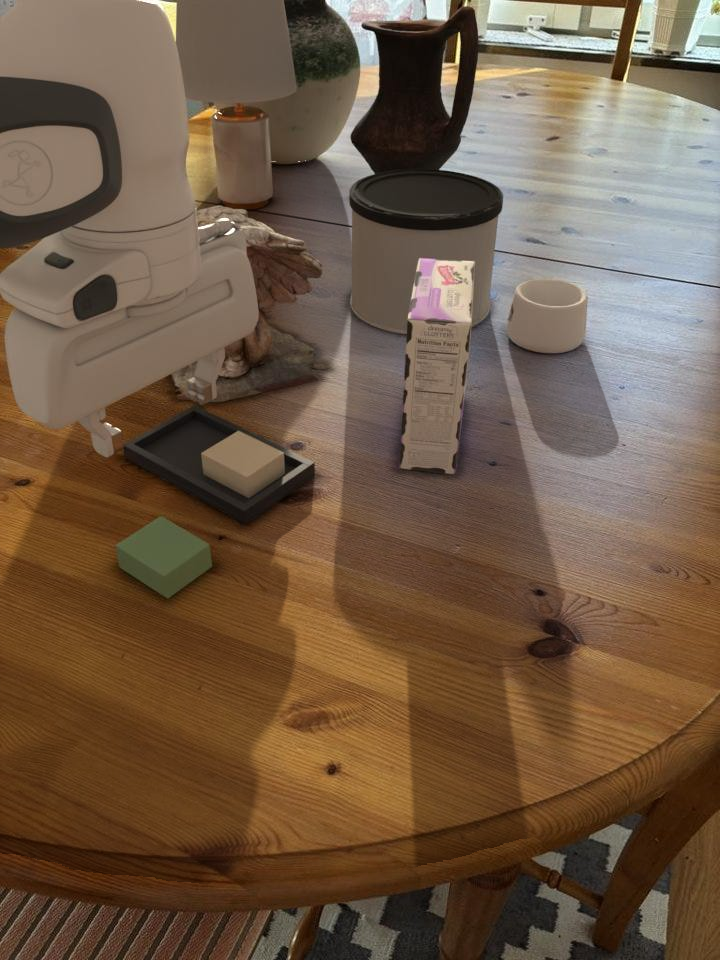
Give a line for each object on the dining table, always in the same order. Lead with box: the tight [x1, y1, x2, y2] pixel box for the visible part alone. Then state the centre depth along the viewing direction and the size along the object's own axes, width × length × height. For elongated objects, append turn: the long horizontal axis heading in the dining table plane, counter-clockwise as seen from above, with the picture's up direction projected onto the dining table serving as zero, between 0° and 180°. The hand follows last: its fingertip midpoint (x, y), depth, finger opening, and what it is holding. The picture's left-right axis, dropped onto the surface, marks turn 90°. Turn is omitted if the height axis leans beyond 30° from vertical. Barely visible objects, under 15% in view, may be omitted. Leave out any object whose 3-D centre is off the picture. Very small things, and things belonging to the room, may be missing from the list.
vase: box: [213, 0, 361, 165], centre depth 158 cm, size 28×28×30 cm
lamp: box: [175, 0, 297, 211], centre depth 136 cm, size 19×19×34 cm
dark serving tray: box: [122, 404, 316, 525], centre depth 84 cm, size 10×17×2 cm, turn 52°
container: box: [348, 169, 504, 335], centre depth 110 cm, size 19×19×15 cm
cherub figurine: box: [171, 205, 329, 407], centre depth 96 cm, size 18×18×18 cm
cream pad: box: [201, 431, 285, 498], centre depth 81 cm, size 5×6×2 cm
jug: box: [350, 5, 479, 174], centre depth 140 cm, size 21×18×30 cm
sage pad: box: [115, 515, 213, 599], centre depth 72 cm, size 5×6×2 cm
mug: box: [505, 278, 589, 354], centre depth 106 cm, size 12×10×6 cm
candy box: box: [398, 258, 475, 475], centre depth 84 cm, size 14×6×16 cm, turn 172°
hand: (158, 424), depth 66 cm, fingers open, 8 cm apart
